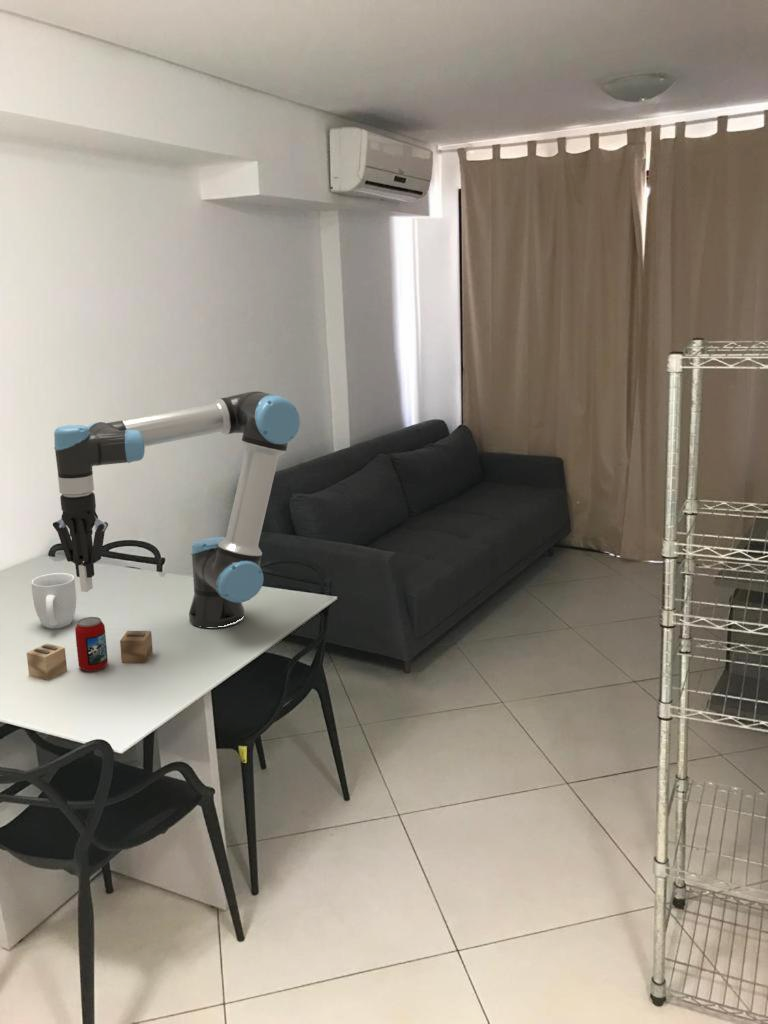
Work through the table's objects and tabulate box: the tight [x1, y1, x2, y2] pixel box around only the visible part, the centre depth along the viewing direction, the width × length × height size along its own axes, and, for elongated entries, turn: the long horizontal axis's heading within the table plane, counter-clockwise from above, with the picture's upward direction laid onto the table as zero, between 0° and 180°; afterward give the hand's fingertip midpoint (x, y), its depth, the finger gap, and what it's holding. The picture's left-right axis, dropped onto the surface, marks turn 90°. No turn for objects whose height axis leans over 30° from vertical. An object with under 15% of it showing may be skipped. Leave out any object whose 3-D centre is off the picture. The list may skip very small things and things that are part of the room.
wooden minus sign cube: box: [119, 630, 154, 664], centre depth 207 cm, size 6×6×6 cm
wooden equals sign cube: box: [26, 642, 68, 682], centre depth 199 cm, size 6×6×6 cm
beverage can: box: [74, 616, 109, 672], centre depth 201 cm, size 7×7×12 cm
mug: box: [31, 572, 77, 630], centre depth 225 cm, size 15×11×13 cm
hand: (86, 589), depth 198 cm, fingers closed
